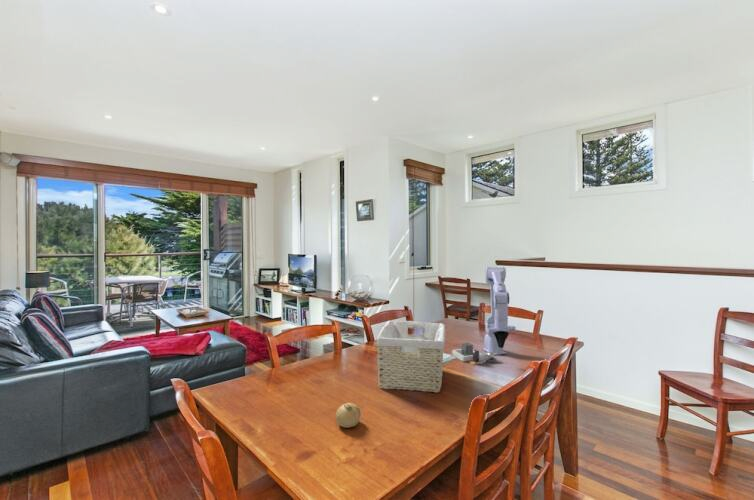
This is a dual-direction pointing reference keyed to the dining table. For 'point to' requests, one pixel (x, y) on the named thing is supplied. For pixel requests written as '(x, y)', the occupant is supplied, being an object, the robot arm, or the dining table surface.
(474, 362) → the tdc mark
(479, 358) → the crank
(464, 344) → the stop block
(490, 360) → the crank foot
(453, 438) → the dining table surface
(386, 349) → the basket
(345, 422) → the onion
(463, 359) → the tray
